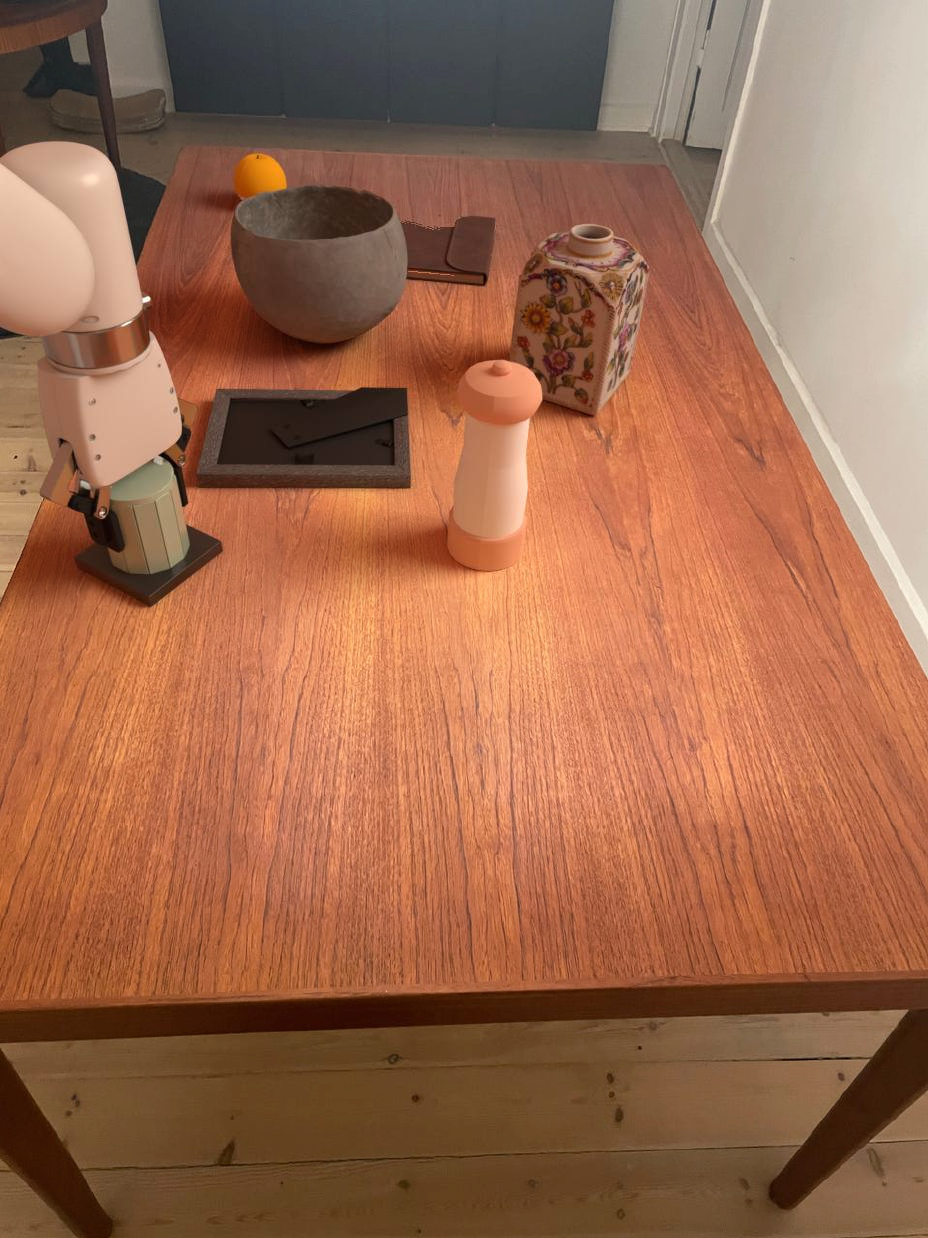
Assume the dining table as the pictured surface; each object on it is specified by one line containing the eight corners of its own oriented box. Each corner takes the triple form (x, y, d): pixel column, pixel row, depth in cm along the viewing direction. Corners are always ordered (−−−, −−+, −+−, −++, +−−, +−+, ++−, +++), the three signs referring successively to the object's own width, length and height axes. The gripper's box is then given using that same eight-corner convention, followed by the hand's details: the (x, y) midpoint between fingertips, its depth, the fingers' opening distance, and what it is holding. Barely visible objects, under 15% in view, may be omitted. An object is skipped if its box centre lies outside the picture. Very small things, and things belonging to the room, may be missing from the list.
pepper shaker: (486, 512, 90) (503, 331, 76) (539, 549, 86) (566, 366, 73) (431, 541, 86) (438, 357, 73) (483, 582, 82) (501, 395, 69)
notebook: (379, 276, 126) (379, 261, 125) (399, 221, 140) (399, 208, 139) (487, 285, 126) (488, 271, 124) (496, 230, 140) (497, 216, 138)
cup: (149, 584, 78) (130, 510, 72) (68, 542, 81) (44, 468, 76) (204, 542, 82) (190, 469, 77) (125, 504, 86) (107, 431, 80)
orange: (277, 193, 146) (272, 142, 140) (296, 210, 141) (292, 159, 136) (228, 200, 143) (222, 148, 137) (246, 218, 138) (240, 165, 133)
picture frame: (406, 403, 103) (218, 400, 101) (406, 387, 102) (215, 384, 100) (410, 487, 92) (198, 487, 90) (411, 471, 90) (195, 470, 89)
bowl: (431, 313, 119) (435, 194, 109) (363, 386, 105) (360, 258, 95) (292, 280, 124) (283, 163, 113) (209, 346, 110) (190, 219, 99)
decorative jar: (596, 419, 103) (624, 263, 90) (504, 390, 106) (518, 236, 94) (631, 374, 111) (662, 224, 98) (544, 348, 114) (563, 200, 101)
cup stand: (151, 606, 78) (132, 531, 72) (76, 567, 81) (52, 491, 75) (223, 551, 83) (210, 476, 78) (151, 515, 86) (133, 441, 81)
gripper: (144, 277, 73) (181, 460, 86) (-42, 364, 62) (31, 560, 75) (215, 303, 71) (242, 488, 83) (34, 399, 60) (96, 595, 72)
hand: (142, 521), depth 79 cm, fingers closed on cup, 6 cm apart
